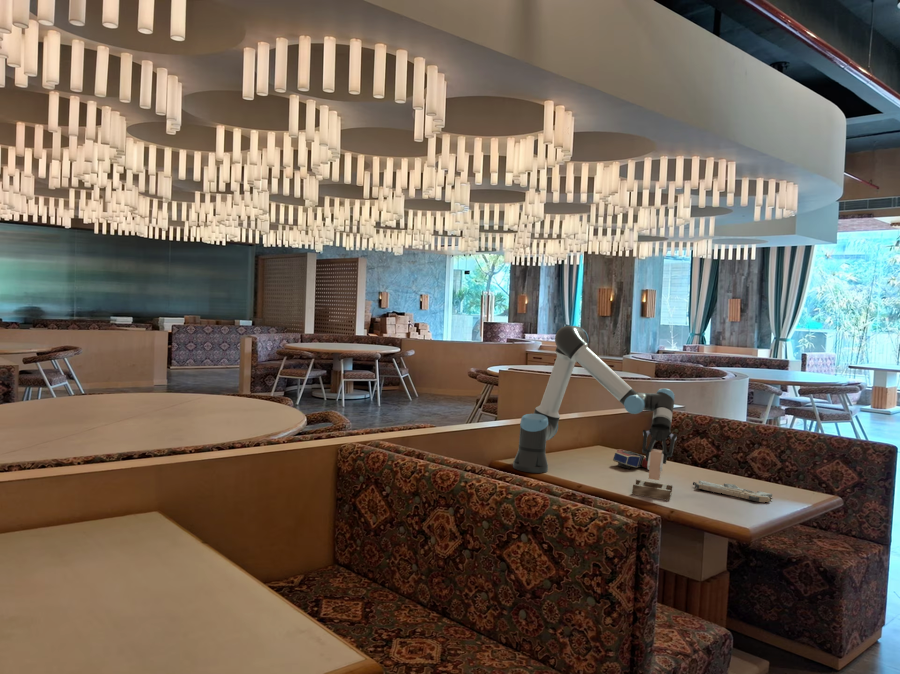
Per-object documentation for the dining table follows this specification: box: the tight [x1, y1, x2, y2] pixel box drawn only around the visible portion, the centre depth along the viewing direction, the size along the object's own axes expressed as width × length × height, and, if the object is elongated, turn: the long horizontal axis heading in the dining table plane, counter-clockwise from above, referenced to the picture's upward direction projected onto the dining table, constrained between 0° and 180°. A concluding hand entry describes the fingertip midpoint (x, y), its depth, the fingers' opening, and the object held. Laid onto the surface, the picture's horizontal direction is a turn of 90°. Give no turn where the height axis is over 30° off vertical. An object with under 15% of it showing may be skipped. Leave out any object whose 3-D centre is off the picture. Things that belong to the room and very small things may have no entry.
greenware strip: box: [648, 448, 663, 481], centre depth 266 cm, size 4×5×11 cm
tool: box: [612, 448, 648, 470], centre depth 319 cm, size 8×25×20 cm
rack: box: [631, 479, 673, 501], centre depth 267 cm, size 14×12×4 cm
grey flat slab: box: [692, 479, 773, 503], centre depth 280 cm, size 30×3×20 cm
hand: (654, 468), depth 263 cm, fingers closed on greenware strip, 4 cm apart
